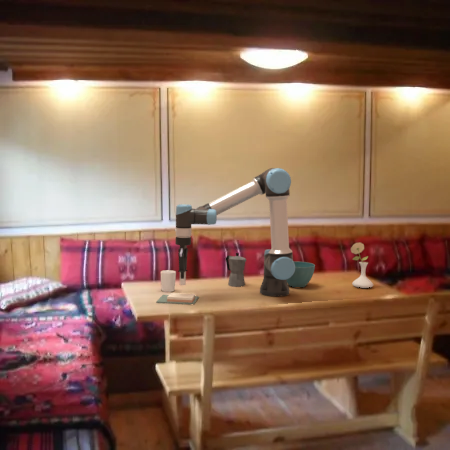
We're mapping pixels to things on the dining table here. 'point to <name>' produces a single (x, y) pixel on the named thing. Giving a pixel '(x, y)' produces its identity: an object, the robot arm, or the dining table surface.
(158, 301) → the mat
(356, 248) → the flower in vase
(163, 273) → the white cup
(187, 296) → the plaque
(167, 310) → the dining table surface
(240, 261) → the coffeepot
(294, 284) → the teal bowl
